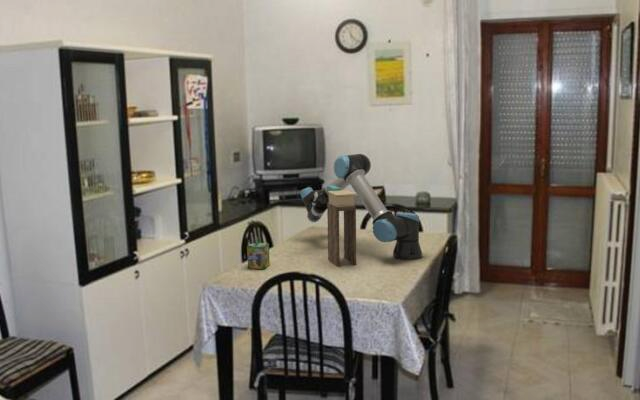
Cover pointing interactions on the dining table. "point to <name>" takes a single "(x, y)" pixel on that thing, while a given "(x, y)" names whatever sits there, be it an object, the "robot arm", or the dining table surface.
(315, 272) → the dining table surface
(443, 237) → the dining table surface
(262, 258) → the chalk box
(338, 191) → the mailer lid
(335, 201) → the kraft mailer box
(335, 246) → the walnut stand
